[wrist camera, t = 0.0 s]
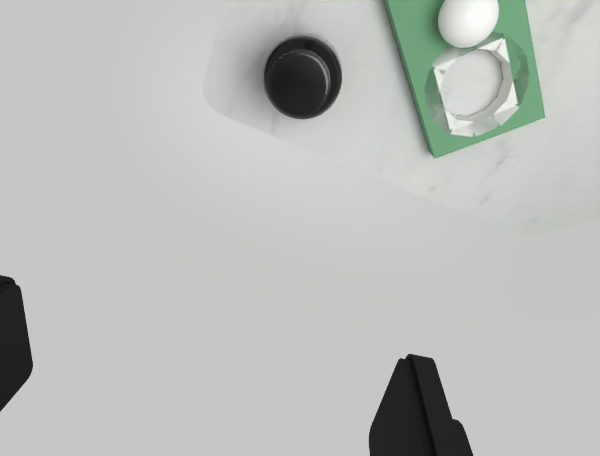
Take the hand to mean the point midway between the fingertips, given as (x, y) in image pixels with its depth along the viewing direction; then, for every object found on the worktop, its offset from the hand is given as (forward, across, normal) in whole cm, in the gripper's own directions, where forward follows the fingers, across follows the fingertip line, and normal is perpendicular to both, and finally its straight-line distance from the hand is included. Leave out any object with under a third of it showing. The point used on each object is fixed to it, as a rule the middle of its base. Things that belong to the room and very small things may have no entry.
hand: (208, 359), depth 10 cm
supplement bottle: (+38, 0, -3) cm, 38 cm away
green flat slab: (+37, -14, -8) cm, 41 cm away
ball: (+32, -13, -10) cm, 36 cm away
